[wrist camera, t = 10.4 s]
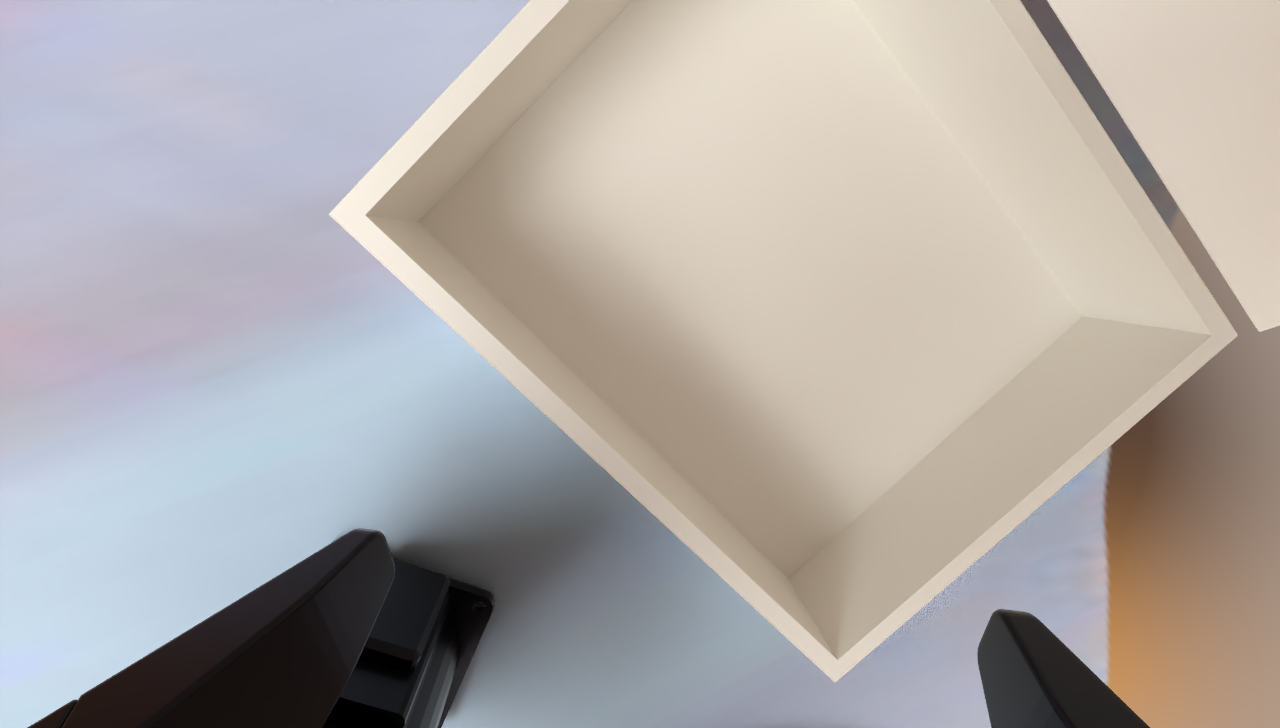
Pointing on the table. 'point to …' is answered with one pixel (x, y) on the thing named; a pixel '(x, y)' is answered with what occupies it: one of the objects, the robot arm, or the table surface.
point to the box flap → (1201, 119)
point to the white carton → (799, 278)
